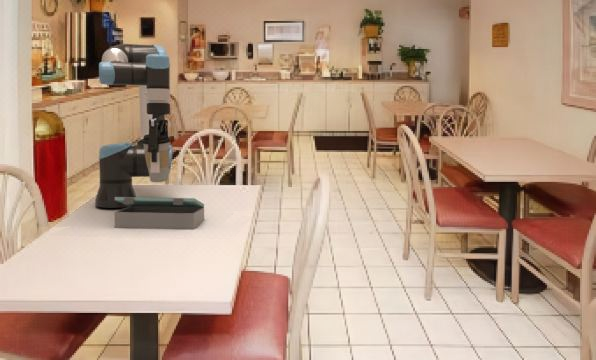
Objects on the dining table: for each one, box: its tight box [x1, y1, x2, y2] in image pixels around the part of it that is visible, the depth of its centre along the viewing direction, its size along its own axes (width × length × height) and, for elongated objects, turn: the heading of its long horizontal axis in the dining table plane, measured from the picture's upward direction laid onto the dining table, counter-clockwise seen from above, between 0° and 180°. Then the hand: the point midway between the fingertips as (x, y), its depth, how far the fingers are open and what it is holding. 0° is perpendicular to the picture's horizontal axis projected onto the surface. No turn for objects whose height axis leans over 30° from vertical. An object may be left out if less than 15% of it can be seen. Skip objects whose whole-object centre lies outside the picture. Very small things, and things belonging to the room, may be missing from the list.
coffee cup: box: [142, 133, 172, 183], centre depth 204 cm, size 9×9×15 cm
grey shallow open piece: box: [114, 206, 205, 230], centre depth 207 cm, size 15×26×5 cm, turn 86°
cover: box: [115, 196, 205, 208], centre depth 206 cm, size 16×26×2 cm, turn 86°
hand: (159, 171), depth 204 cm, fingers closed on coffee cup, 9 cm apart
